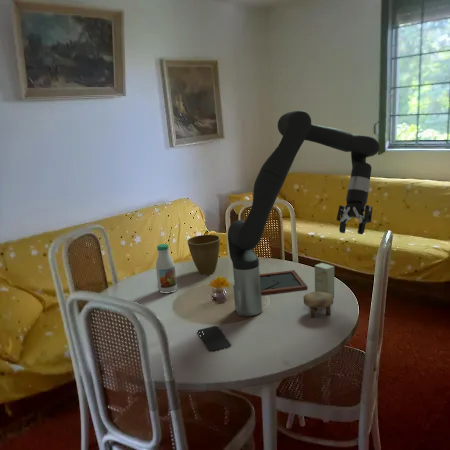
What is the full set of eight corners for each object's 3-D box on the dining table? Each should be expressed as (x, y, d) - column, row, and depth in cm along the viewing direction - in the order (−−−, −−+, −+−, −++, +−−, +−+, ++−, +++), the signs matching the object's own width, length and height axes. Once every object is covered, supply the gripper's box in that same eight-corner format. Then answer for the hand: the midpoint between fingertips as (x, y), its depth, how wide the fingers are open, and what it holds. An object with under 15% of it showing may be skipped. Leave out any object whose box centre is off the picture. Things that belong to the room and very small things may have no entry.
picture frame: (245, 298, 174) (307, 290, 176) (244, 293, 173) (307, 285, 175) (238, 280, 193) (294, 273, 195) (237, 276, 193) (294, 269, 195)
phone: (209, 351, 135) (196, 330, 148) (209, 353, 135) (196, 332, 149) (232, 345, 137) (217, 325, 151) (232, 348, 137) (217, 327, 151)
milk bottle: (155, 293, 185) (149, 247, 180) (164, 286, 192) (159, 242, 187) (171, 295, 182) (166, 248, 177) (180, 287, 189) (175, 242, 184)
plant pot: (194, 267, 214) (190, 235, 210) (224, 266, 211) (222, 233, 208) (187, 278, 199) (183, 244, 195) (220, 277, 197) (217, 242, 193)
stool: (310, 321, 148) (310, 305, 147) (299, 310, 158) (299, 294, 156) (338, 317, 150) (338, 300, 149) (326, 305, 160) (325, 289, 158)
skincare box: (314, 295, 169) (313, 265, 166) (322, 292, 172) (321, 262, 169) (327, 300, 164) (326, 269, 161) (335, 296, 167) (334, 265, 164)
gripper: (336, 188, 169) (329, 230, 168) (367, 187, 157) (359, 232, 156) (349, 193, 173) (343, 234, 172) (380, 192, 161) (373, 236, 160)
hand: (350, 233), depth 164 cm, fingers open, 8 cm apart
